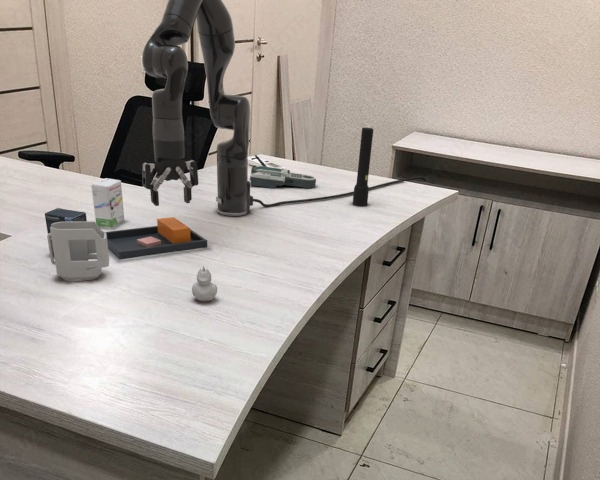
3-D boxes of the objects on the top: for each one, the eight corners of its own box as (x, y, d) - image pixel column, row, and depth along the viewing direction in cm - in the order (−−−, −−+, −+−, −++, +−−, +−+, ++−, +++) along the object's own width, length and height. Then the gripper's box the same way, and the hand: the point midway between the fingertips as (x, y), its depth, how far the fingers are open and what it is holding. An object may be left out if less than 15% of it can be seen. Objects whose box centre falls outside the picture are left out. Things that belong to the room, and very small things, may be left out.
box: (50, 256, 154) (43, 212, 148) (64, 249, 158) (58, 207, 153) (78, 260, 152) (72, 217, 146) (91, 253, 157) (86, 211, 151)
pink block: (151, 239, 166) (150, 236, 166) (161, 244, 164) (161, 240, 163) (136, 243, 164) (136, 239, 163) (147, 247, 161) (147, 243, 161)
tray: (181, 231, 176) (181, 222, 175) (207, 249, 164) (207, 240, 163) (98, 241, 165) (97, 232, 163) (120, 261, 153) (119, 252, 152)
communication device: (315, 191, 224) (317, 166, 219) (249, 187, 223) (250, 161, 219) (315, 183, 234) (317, 159, 229) (252, 179, 234) (252, 154, 229)
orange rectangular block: (174, 233, 172) (173, 216, 170) (191, 245, 165) (190, 228, 162) (157, 235, 170) (156, 218, 167) (173, 247, 162) (172, 230, 160)
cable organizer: (110, 281, 142) (104, 228, 136) (52, 282, 139) (44, 229, 133) (110, 270, 148) (105, 220, 141) (55, 272, 145) (47, 220, 139)
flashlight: (349, 203, 212) (360, 207, 209) (356, 127, 199) (368, 129, 196) (359, 201, 215) (370, 205, 212) (367, 126, 202) (378, 129, 199)
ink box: (111, 229, 174) (107, 186, 168) (95, 227, 175) (90, 184, 169) (125, 221, 181) (121, 179, 175) (109, 219, 182) (105, 177, 176)
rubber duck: (190, 304, 134) (189, 268, 130) (194, 292, 139) (193, 257, 135) (215, 305, 134) (215, 269, 130) (218, 293, 140) (218, 259, 135)
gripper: (146, 140, 147) (151, 210, 156) (201, 138, 154) (203, 205, 163) (135, 135, 153) (140, 202, 161) (189, 133, 160) (191, 198, 168)
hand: (171, 203), depth 162 cm, fingers open, 8 cm apart
